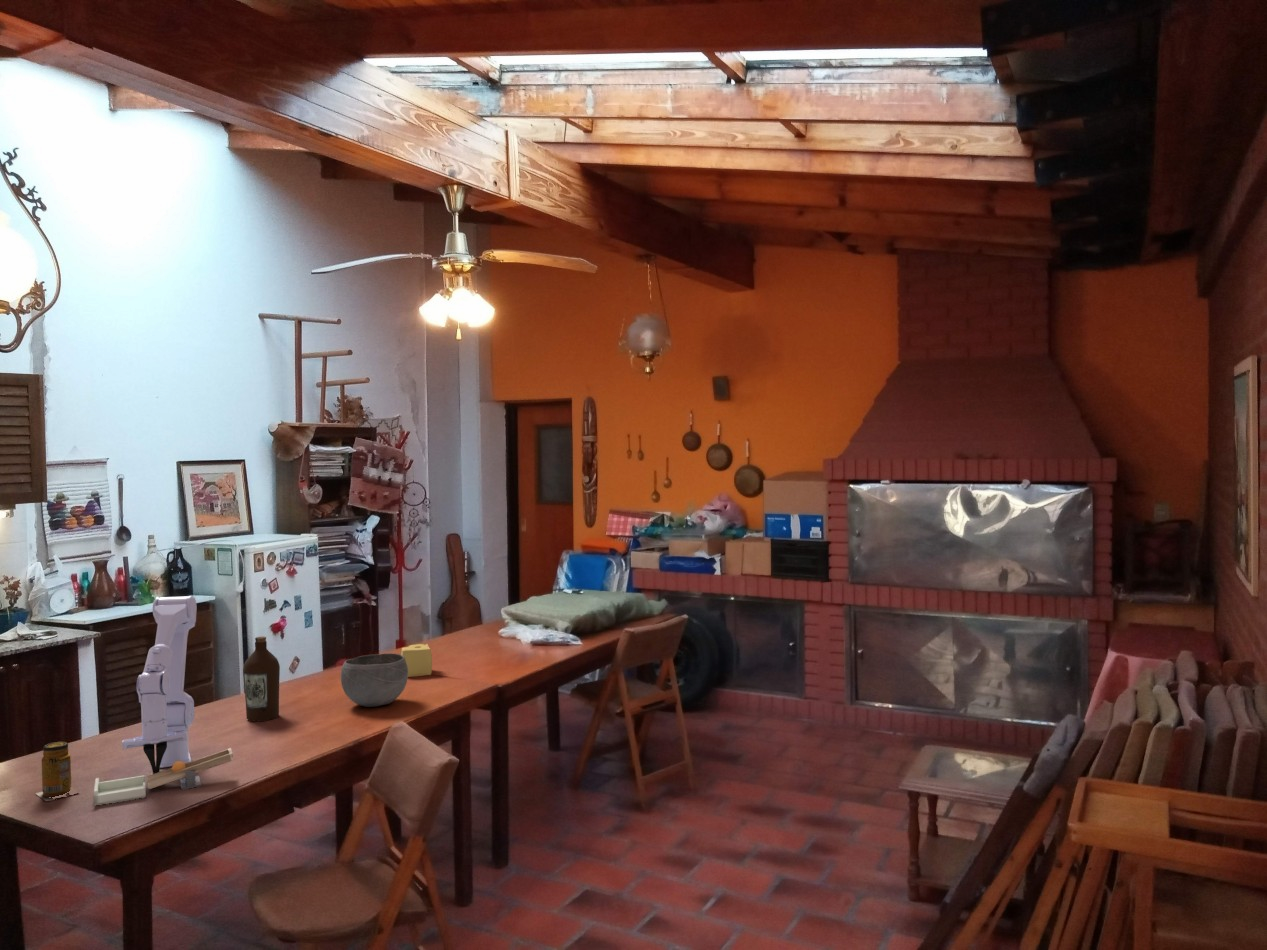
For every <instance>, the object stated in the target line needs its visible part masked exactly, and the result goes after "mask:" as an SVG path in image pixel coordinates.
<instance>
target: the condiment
mask: <svg viewBox="0 0 1267 950" xmlns="http://www.w3.org/2000/svg"><path fill="white" fill-rule="evenodd" d="M42 751H43V752H42V754H43V755H42V758H41V779H42V780H41V782H42V783H41V786H42V791H38V792H36V793H35V795H37V796H38V798H41V799H42V800H44V801H45V802H50V801H51V802H52V801H55V799H53V798H52V797H55V796H59V795H63V794H65V793H67V792H69V791H70V790H71V788H72V768H71V763H72V762H71V754H70V753H69V743H68V742H66V741H57V742H56V741H55V742H49V743H47V744H45V745H43V747H42ZM49 797H51V798H49Z"/></svg>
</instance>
